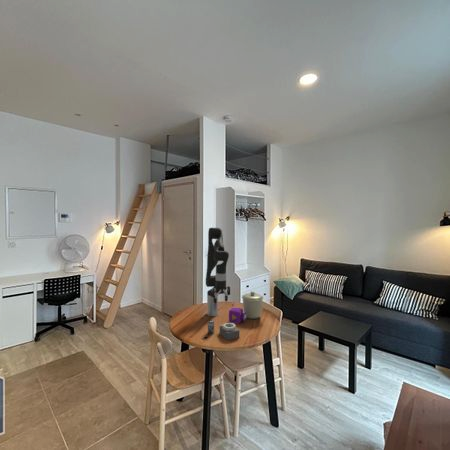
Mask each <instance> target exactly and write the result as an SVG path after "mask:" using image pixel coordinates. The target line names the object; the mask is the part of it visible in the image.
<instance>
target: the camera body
mask: <svg viewBox="0 0 450 450" xmlns="http://www.w3.org/2000/svg"><path fill="white" fill-rule="evenodd" d="M219 334H220V335H221V336H222V337H223V338H224V339H226V340H227V341H232V340H234V339H239V338H240V329H238V328H237V327H236V323H233V322H226V323H224V324H221V325H219Z"/></svg>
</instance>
